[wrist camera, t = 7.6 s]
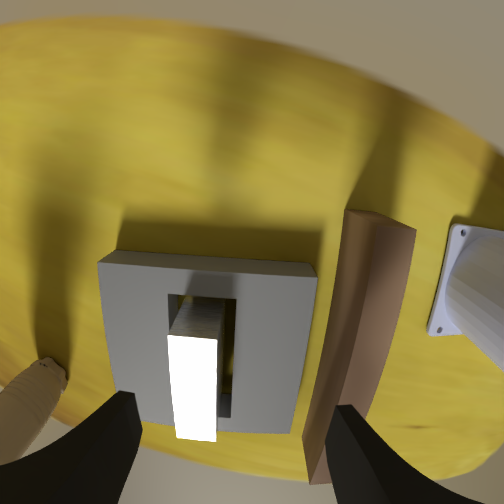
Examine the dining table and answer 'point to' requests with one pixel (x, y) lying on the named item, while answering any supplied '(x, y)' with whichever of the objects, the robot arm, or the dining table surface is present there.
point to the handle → (28, 406)
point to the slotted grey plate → (246, 331)
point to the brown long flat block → (357, 324)
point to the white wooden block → (197, 366)
